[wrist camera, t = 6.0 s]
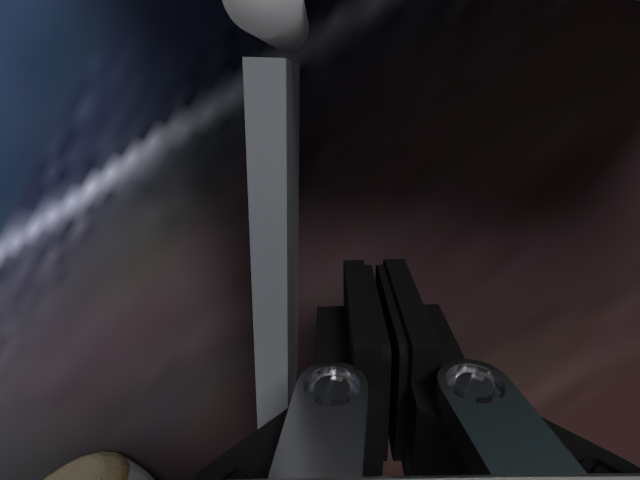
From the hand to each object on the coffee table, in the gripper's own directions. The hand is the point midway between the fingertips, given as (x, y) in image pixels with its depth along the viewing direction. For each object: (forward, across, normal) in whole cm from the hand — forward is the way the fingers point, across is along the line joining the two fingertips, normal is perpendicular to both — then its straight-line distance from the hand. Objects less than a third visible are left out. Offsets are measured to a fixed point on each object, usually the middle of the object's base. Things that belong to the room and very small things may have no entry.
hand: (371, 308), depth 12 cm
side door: (+3, +2, -2) cm, 4 cm away
